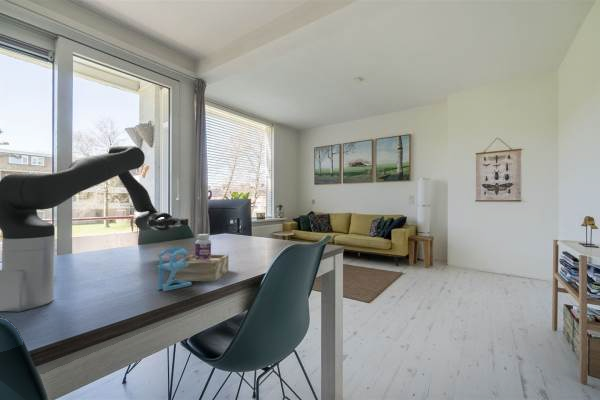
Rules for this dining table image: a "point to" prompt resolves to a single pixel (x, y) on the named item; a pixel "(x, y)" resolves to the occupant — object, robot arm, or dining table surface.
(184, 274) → the birch block
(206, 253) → the pill bottle
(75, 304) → the dining table surface
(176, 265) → the chair
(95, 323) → the dining table surface
